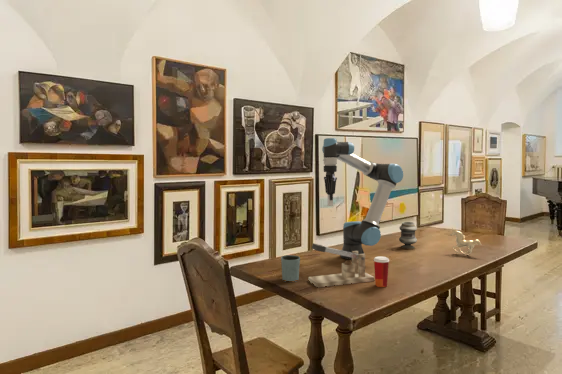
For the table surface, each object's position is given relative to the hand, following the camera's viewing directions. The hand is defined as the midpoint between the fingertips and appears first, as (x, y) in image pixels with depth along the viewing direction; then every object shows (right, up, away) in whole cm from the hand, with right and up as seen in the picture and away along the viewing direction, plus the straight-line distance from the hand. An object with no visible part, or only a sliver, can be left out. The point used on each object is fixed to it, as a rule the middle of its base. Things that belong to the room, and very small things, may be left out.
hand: (330, 205), depth 232 cm
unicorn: (+92, -34, +29) cm, 102 cm away
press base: (+3, -38, -24) cm, 45 cm away
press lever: (0, -24, -26) cm, 35 cm away
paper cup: (+21, -39, -33) cm, 55 cm away
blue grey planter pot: (-23, -38, -21) cm, 50 cm away
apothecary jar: (+62, -33, +53) cm, 88 cm away
